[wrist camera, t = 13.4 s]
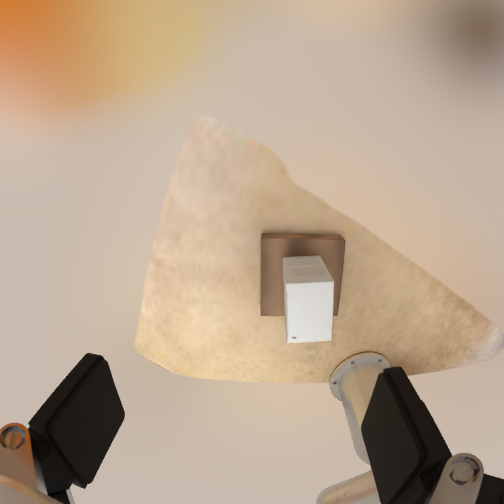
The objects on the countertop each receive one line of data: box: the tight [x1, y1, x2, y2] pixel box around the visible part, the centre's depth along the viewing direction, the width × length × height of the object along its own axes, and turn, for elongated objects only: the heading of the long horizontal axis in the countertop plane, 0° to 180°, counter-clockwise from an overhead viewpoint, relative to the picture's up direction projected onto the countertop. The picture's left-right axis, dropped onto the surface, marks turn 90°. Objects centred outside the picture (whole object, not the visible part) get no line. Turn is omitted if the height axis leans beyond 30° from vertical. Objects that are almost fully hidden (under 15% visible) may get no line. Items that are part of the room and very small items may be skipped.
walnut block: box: [261, 234, 345, 316], centre depth 44 cm, size 12×12×4 cm
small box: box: [282, 255, 334, 343], centre depth 37 cm, size 8×6×10 cm
